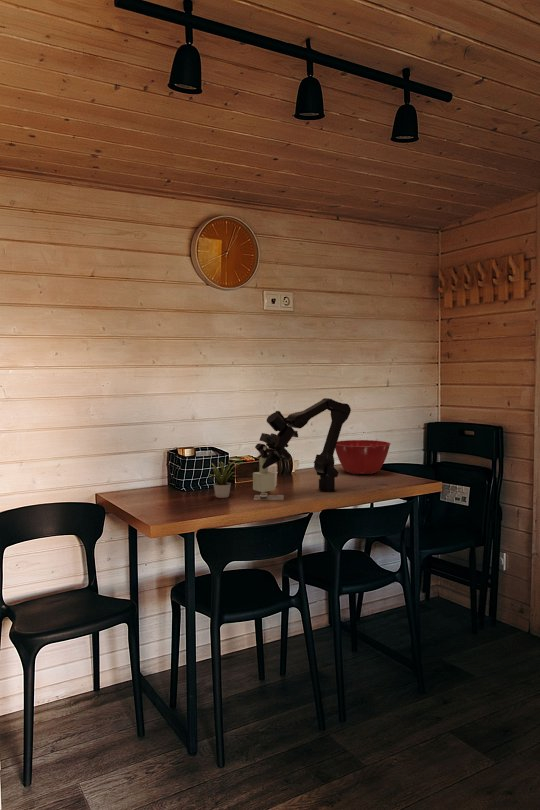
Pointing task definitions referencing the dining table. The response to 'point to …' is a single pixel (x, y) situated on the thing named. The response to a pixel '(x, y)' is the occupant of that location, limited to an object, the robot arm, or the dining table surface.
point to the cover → (263, 478)
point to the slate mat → (269, 497)
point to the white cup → (273, 471)
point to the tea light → (263, 495)
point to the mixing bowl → (362, 455)
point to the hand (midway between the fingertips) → (260, 467)
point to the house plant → (222, 480)
